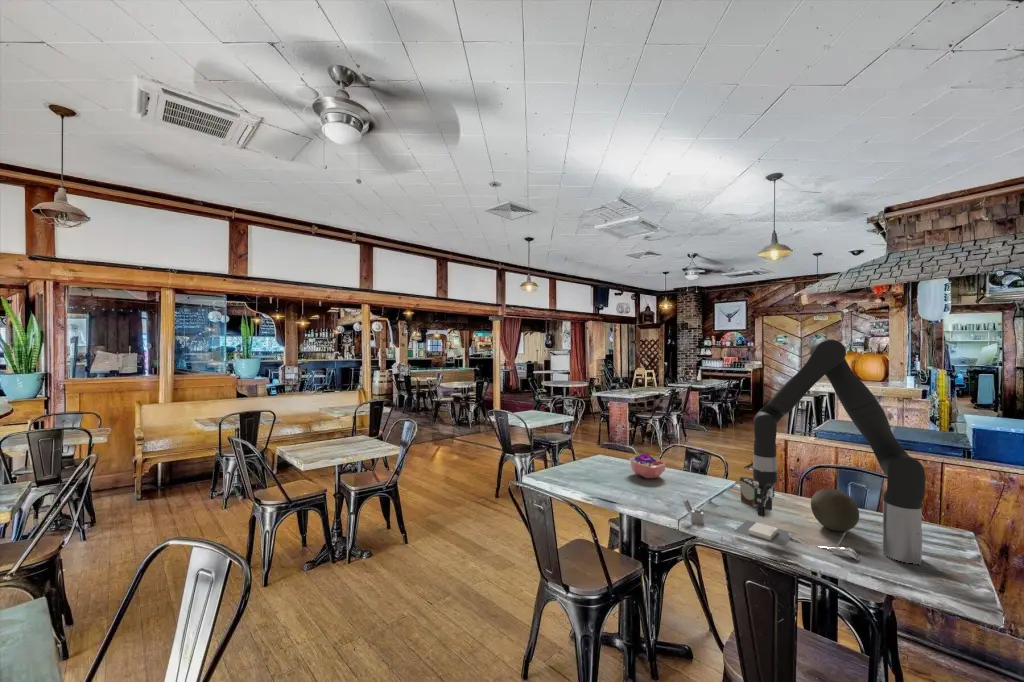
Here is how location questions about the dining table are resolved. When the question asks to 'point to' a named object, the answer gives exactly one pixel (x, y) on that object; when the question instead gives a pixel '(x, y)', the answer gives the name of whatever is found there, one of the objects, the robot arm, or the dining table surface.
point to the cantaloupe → (835, 509)
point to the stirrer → (841, 548)
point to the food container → (748, 490)
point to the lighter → (694, 513)
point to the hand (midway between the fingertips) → (764, 512)
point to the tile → (763, 531)
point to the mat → (779, 539)
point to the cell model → (647, 466)
